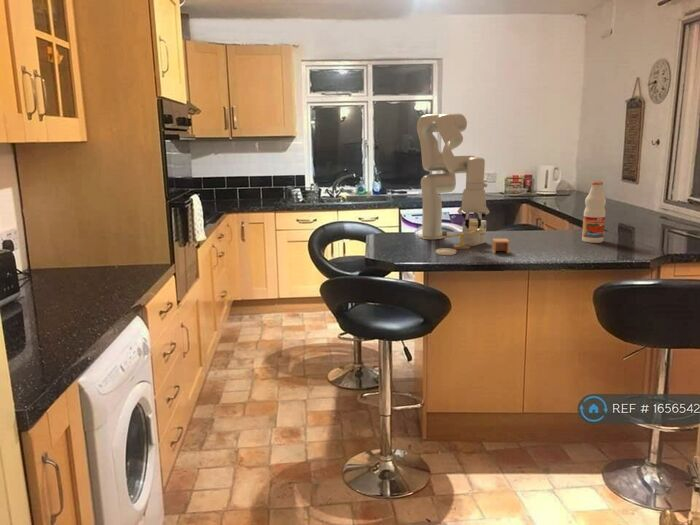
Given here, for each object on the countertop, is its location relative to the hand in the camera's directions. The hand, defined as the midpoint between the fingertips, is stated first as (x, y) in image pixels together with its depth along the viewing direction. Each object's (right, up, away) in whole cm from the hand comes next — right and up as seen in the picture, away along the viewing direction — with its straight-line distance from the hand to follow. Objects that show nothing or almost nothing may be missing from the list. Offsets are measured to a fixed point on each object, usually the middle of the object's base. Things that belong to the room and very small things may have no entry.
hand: (472, 227), depth 256 cm
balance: (-3, -9, +11) cm, 14 cm away
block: (0, 0, +1) cm, 1 cm away
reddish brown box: (+12, -11, +1) cm, 16 cm away
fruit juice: (+61, -5, +20) cm, 64 cm away
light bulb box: (+5, -7, +20) cm, 22 cm away
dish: (-12, -11, +1) cm, 16 cm away
